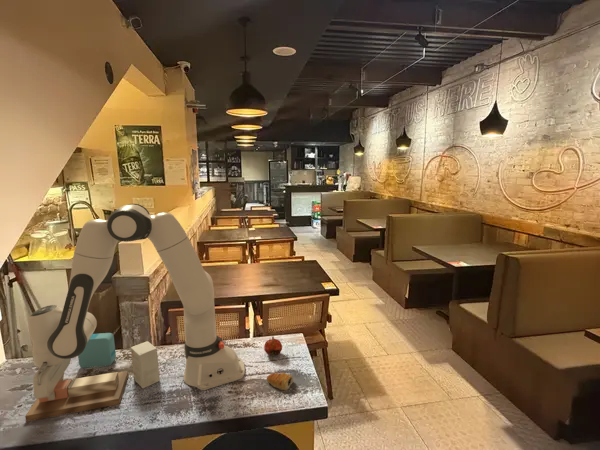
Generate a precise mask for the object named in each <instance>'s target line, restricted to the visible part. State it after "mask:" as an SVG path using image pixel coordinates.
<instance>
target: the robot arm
mask: <svg viewBox="0 0 600 450" xmlns="http://www.w3.org/2000/svg"><path fill="white" fill-rule="evenodd" d="M147 239H148V240H150V242H151V243H152V245H153V247H154V248H155V250H156V252H157V254H158V256H159V257H160V260H161V262H162V263H163V265H164V266H165V268H166V270H167V273H168V274H169V276H170V279H171V281H172V284H173V287H174V289H175V291H176V293H177V295H178V297H179V299H180V301H181V303H182V306H183V323H184V324H183V327H184V338H185V340H184V345H183V347H184V348H183V350H184V357H185V368H184V374H183V381H184V383H185V384H186V385H188V386H190V387H194V388H197V389H199V390H200V391H205V390H209V389H212V388H216V387H218V386H221V385H225V384H229V383H231V382H235V381H239V380H242V379H243V378H244V377H245V373H246V368H245V367H246V365H245V364H244V363H245V362H244V361H243V360H242V358H240V357H239V356H238V354H237V352H236V351H235V350H234V348H232V347H230V346H228V345H225V343H224V341H223V338H222V336H221V334H219V336H218V335H217V321H216V319H217V318H216V309H215V308H216V306H215V288H214V286H215V285H214V281H213V278H212V276H211V274H210V273H208V272H207V271H206V270H205V269H204V267H203V265H202V262H201V260H200V258H199V255H198V254H197V252H196V250H195V247H194V246H193V244H192V242H191V240H190V238H189V236H188V235H187V233H186V231H185V229H184V227H183V225H181V222H180V221H178V219H177V218H176V217H175V216H174V214H173V213H170V212H159V213H156V214H150V212H149V210H148V209H147V208H146V207H145V206H144V205H142V204H140V203H139V204H138V203H129V204H124V205H121V206H119V207H117V208H116V209H115V210H113V211H112V213H111V214H110V215H109V216H108V218H107V219H101V218H98V219H97V218H96V219H89V221H86V222H85V223H84V224H83V226H82V228H81V230H80V233H79V234H78V238H77V240H76V244H75V248H74V252H73V258H72V264H71V269H70V277H69V284H68V290H67V294H66V297H65V301H64V305H63V307H61V306H59V305H57V304H50V305H46V306H44V307H41V308H38V309H36V310H35V311H33V313H32V314H31V315H30V316H29V318H28V333H29V338H30V341H31V343H32V349H31V352H32V358H33V364H34V366H35V367H38V369H37V371H36V373H35V374H34V376H33V382H32V386H33V387H32V388H33V396H34V398H35V399H41V398H46V397H48V400H54V399H55V397H56V392H54V391H53V390H54V388H55V386H56V384H57V383H58V381H63V380H64V377H65V372H66V370H67V369H68V367H69V365H70V364H71V359H74V358H76V357H77V358H78V355H80V354H81V353H82V352H83V351H84V349H85V347H86V344H87V342H88V341H89V339H90V337H91V336H92V334H94V332H95V330H96V328H97V326H98V321H97V318H96V316H95V315H94V314H93V313H92V312H90V311H88V310H89V307H90V303H91V299H92V297H93V295H94V294H95V293H96V291H97V289H98V287H99V286H100V285H101V283H102V282H103V281H104V280H105V278H106V276H107V275H108V273H109V270H110V269H111V267H112V265H113V260H114V255H115V250H116V246H117V244H118V242H125V243H127V242H134V241H135V242H136V241H142V240H147Z"/></svg>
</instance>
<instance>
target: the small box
mask: <svg viewBox="0 0 600 450" xmlns="http://www.w3.org/2000/svg"><path fill="white" fill-rule="evenodd" d="M130 350H131V351H130V352H131V362H132V373H133V380H134V381H135V382H136V383H137V384H138V385H139V386H140V388H142V389H146V388H148V387H149V386H151V385H153V384H156V383H157V382H159V381H160V379H161V378H160V377H161V376H160V369H159V368H160V367H159V358H158V356H159V355H158V349H157V347H156V346H154V345H153V344H152V343H151V342H149V340H146V341H145V342H141V343H139V344H136V345H134V346H131V347H130Z"/></svg>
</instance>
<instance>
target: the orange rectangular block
mask: <svg viewBox="0 0 600 450" xmlns="http://www.w3.org/2000/svg"><path fill="white" fill-rule="evenodd" d="M72 380H73V379H71V378H70V379H63V381H58V383H57V384H56V386H55V388H54V390H53V391H54V392H56V397H55V399H54V400H57V399H63V398H68V396H69V395H68V387H69V385H70V383H71V381H72ZM46 401H52V400H48V397H46V398H41V399H39V403H40V402H46Z"/></svg>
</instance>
